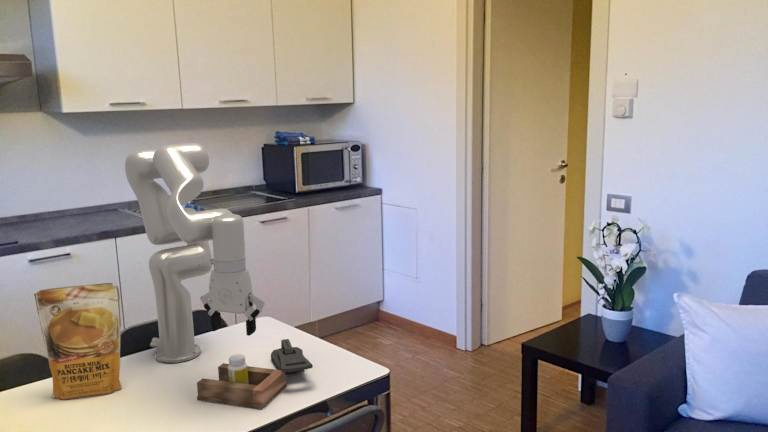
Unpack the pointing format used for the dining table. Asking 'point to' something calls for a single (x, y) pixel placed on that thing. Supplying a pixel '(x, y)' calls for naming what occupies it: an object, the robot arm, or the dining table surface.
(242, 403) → the open u-shaped wooden frame
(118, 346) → the pancake mix bag
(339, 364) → the dining table surface
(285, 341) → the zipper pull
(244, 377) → the supplement bottle
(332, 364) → the dining table surface
